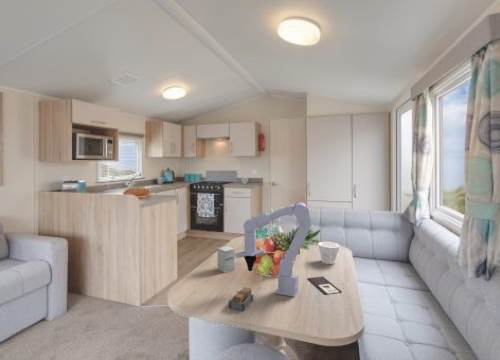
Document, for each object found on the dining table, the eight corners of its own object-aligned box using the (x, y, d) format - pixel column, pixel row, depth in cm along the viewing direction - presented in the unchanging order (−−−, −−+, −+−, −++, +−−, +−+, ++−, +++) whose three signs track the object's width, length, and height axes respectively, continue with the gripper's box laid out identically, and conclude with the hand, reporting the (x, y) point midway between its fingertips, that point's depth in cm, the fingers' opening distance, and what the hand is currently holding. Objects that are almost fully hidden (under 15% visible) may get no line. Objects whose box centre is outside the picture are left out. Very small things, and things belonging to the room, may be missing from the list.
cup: (336, 267, 170) (336, 248, 169) (315, 263, 176) (316, 245, 175) (340, 260, 181) (341, 243, 180) (321, 257, 187) (321, 240, 186)
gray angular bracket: (253, 300, 130) (253, 294, 129) (245, 311, 121) (245, 304, 120) (237, 297, 133) (237, 291, 133) (227, 307, 124) (227, 300, 124)
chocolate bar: (322, 276, 155) (341, 291, 138) (322, 278, 155) (341, 293, 138) (307, 278, 153) (324, 293, 136) (307, 279, 153) (324, 295, 136)
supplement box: (224, 273, 160) (224, 251, 159) (217, 269, 166) (217, 247, 165) (235, 270, 165) (235, 248, 164) (227, 266, 171) (227, 245, 170)
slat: (244, 297, 133) (244, 287, 133) (251, 299, 131) (251, 288, 131) (233, 307, 124) (233, 296, 124) (240, 309, 123) (240, 298, 122)
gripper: (238, 247, 133) (238, 275, 134) (267, 244, 138) (266, 271, 140) (234, 243, 140) (234, 270, 141) (261, 240, 145) (261, 266, 146)
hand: (250, 270), depth 141 cm, fingers closed
